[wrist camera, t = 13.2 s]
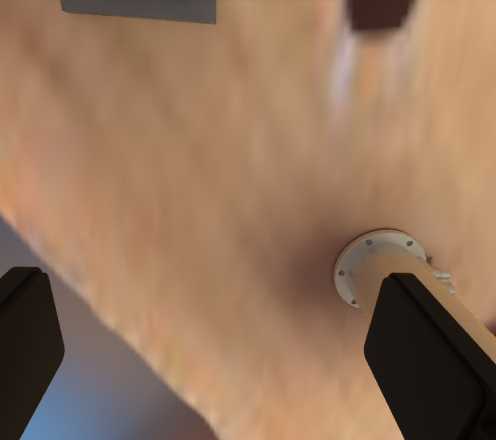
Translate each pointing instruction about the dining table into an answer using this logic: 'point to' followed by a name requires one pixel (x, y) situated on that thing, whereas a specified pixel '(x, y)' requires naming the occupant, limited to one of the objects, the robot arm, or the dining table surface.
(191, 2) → the flange socket
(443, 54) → the dining table surface
